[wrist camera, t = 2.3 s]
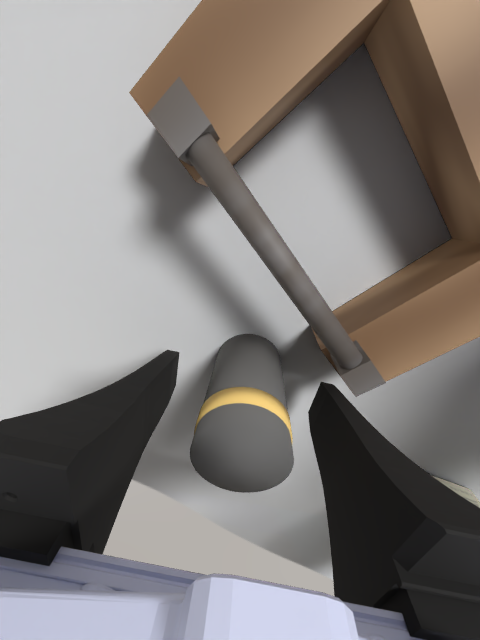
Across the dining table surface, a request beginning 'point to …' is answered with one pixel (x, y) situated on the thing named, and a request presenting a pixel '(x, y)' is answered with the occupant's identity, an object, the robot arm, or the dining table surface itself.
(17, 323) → the dining table surface
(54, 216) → the dining table surface
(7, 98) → the dining table surface
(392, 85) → the wooden bracket with rod
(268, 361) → the grey cylinder with band
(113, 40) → the dining table surface
